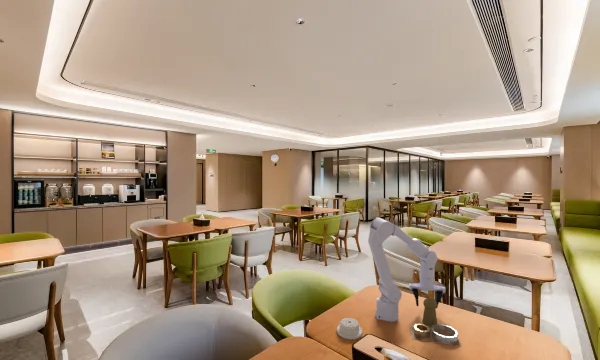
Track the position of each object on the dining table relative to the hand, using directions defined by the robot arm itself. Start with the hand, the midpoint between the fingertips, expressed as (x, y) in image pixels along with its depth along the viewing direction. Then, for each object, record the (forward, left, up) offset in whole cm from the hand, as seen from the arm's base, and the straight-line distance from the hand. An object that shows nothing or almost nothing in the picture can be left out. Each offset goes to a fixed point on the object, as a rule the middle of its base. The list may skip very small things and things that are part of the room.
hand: (426, 306), depth 127 cm
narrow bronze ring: (-4, -17, -3) cm, 18 cm away
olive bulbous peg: (0, -8, -5) cm, 9 cm away
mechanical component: (-32, -21, -5) cm, 39 cm away
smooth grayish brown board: (0, -17, -4) cm, 17 cm away
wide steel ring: (+4, -17, -3) cm, 17 cm away
